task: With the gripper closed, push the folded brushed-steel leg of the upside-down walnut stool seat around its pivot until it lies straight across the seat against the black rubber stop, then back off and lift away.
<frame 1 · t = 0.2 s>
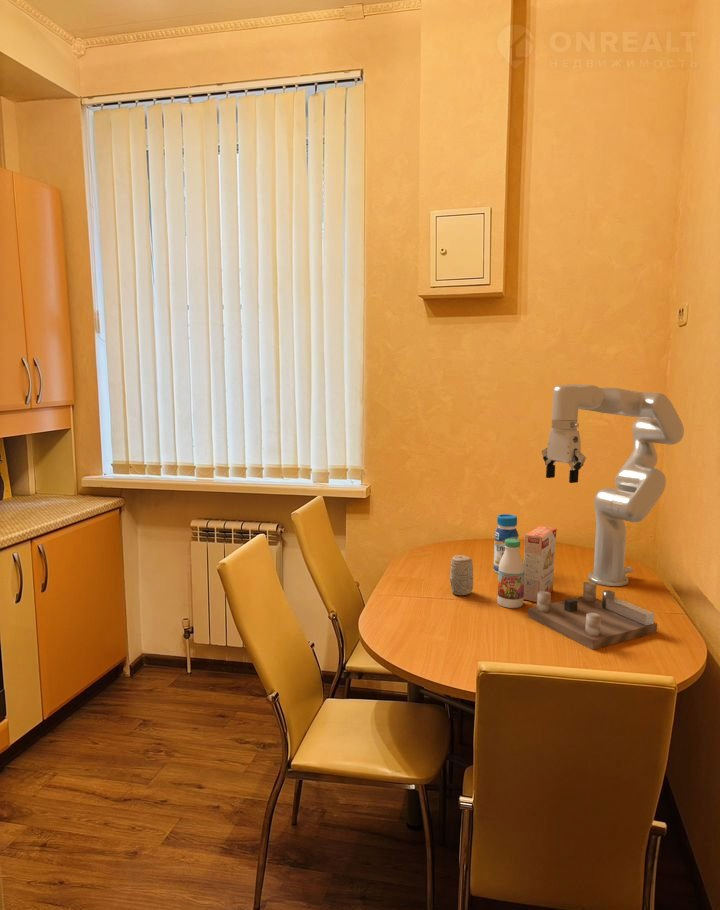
hand: (561, 480, 195), 36 cm above the table, tool pointing down, fingers open, 9 cm apart
stool seat: (590, 624, 175), on the table
cracker box: (538, 595, 198), on the table
beverage bottle: (505, 572, 221), on the table
hinged leg: (626, 606, 175), point 5 cm above the table, hinge at 0.0°
milk bottle: (510, 604, 190), on the table
carving: (461, 594, 199), on the table
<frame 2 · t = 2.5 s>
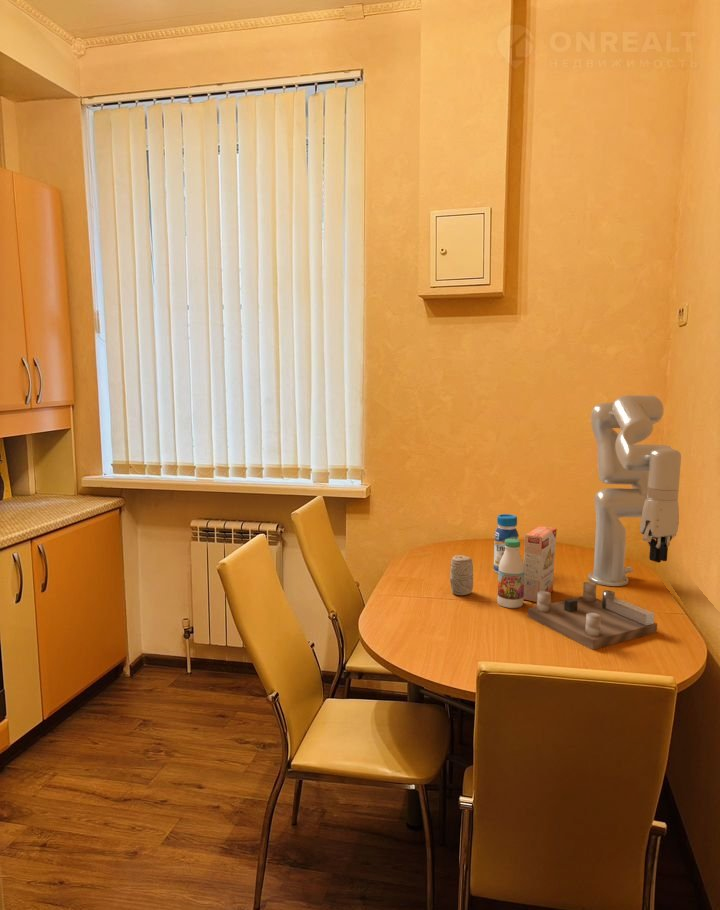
hand: (658, 560, 171), 19 cm above the table, tool pointing down, fingers closed
nothing on the table moved.
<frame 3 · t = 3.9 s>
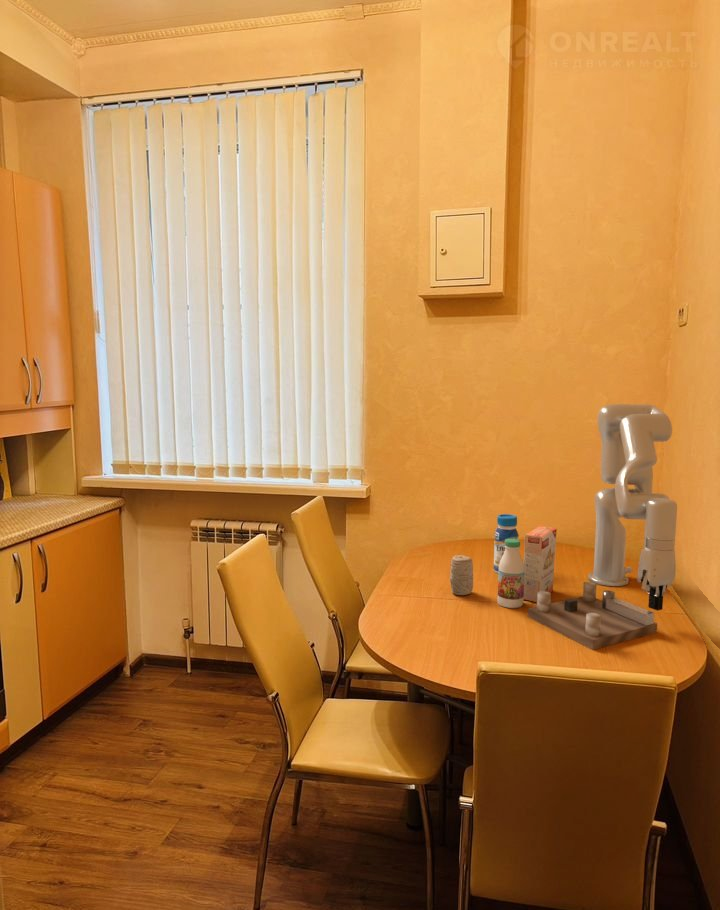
hand: (655, 608, 172), 5 cm above the table, tool pointing down, fingers closed
nothing on the table moved.
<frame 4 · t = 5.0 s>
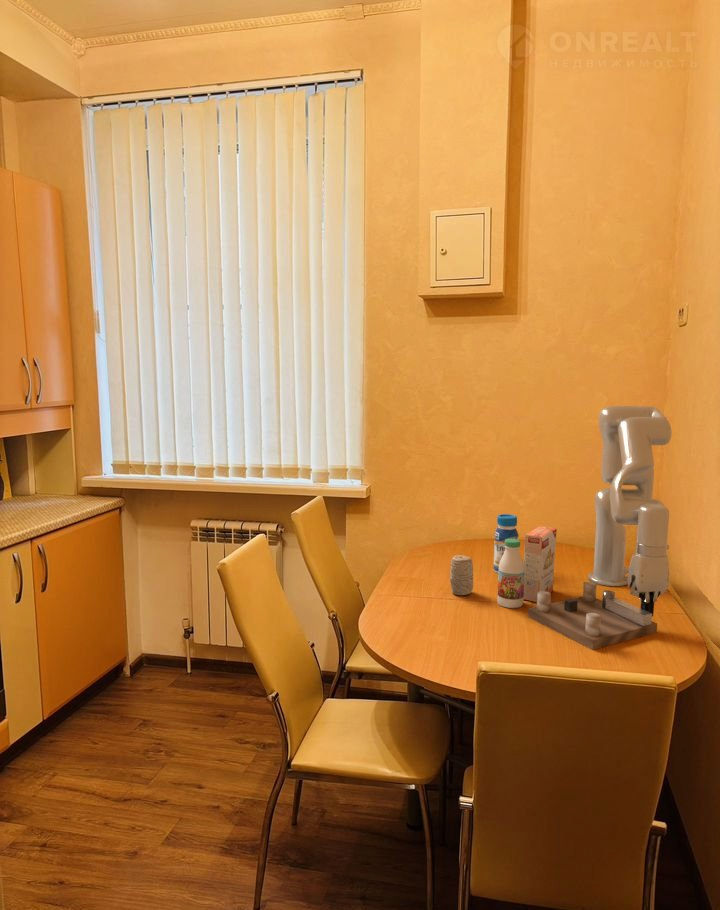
hand: (646, 614, 172), 4 cm above the table, tool pointing down, fingers closed
hinged leg: (625, 607, 174), point 5 cm above the table, hinge at -4.1°, touching gripper
everything else where it was.
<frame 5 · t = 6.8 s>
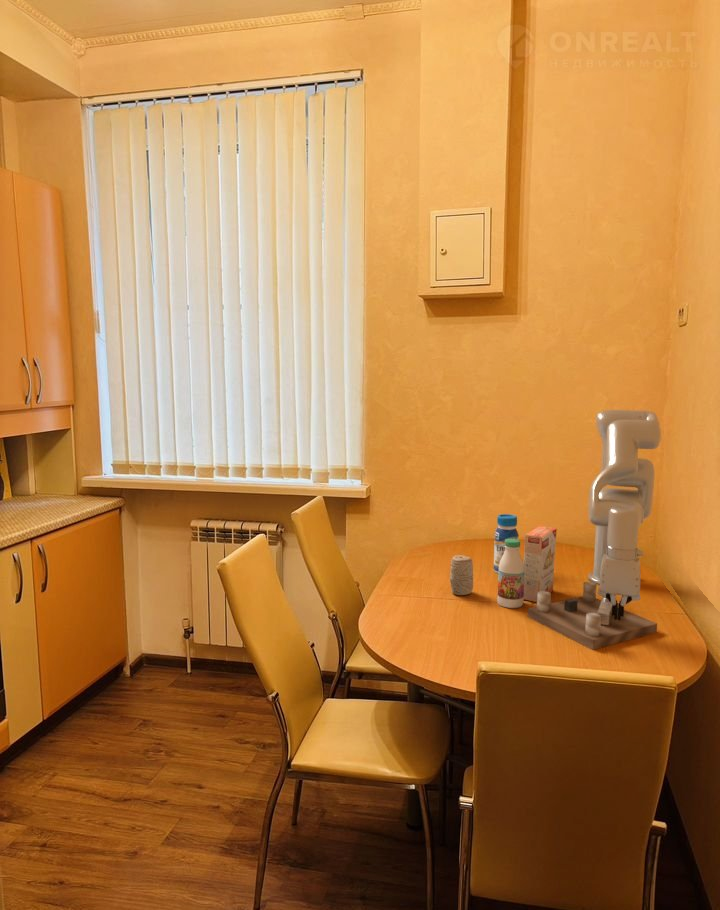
hand: (617, 618, 169), 4 cm above the table, tool pointing down, fingers closed
hinged leg: (606, 606, 175), point 5 cm above the table, hinge at -53.9°, touching gripper
everything else where it was.
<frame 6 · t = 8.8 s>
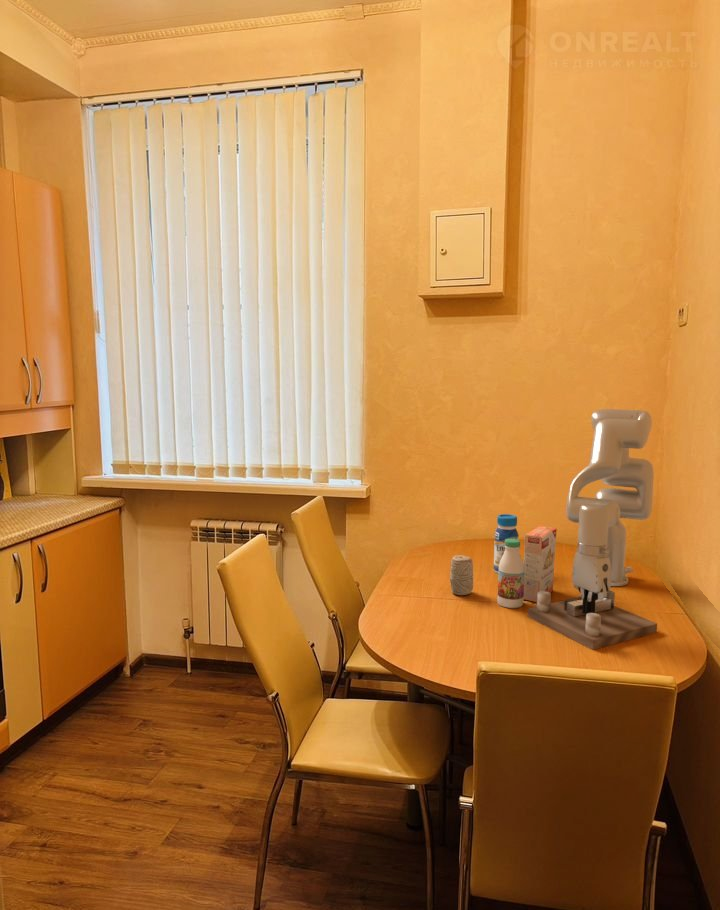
hand: (588, 613, 173), 4 cm above the table, tool pointing down, fingers closed
hinged leg: (592, 602, 178), point 5 cm above the table, hinge at -92.6°, touching gripper
everything else where it was.
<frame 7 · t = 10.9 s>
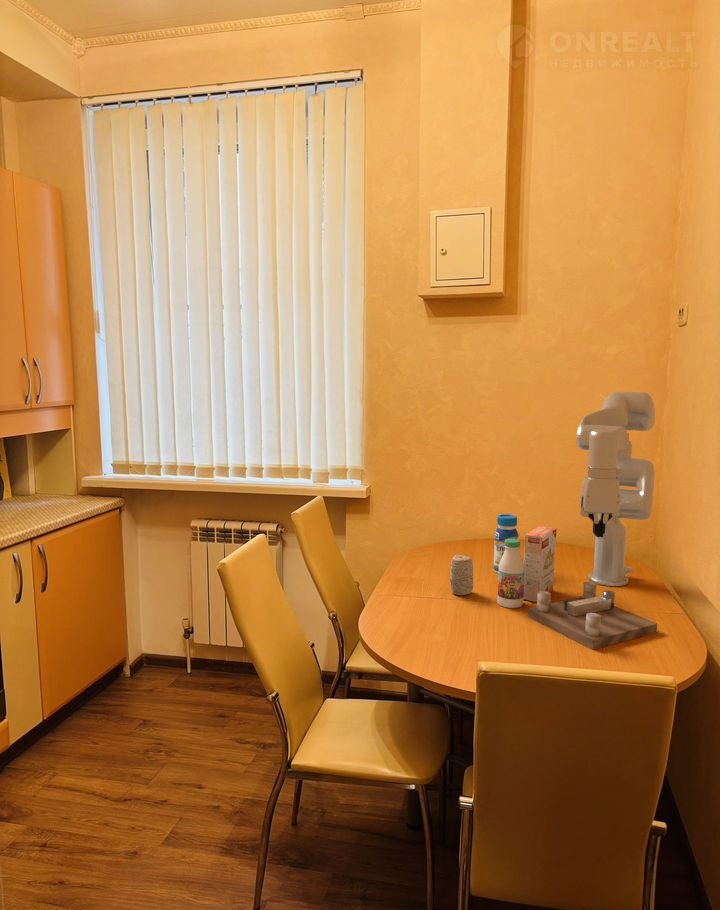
hand: (598, 535, 179), 24 cm above the table, tool pointing down, fingers closed
hinged leg: (592, 602, 178), point 5 cm above the table, hinge at -92.6°
everything else where it was.
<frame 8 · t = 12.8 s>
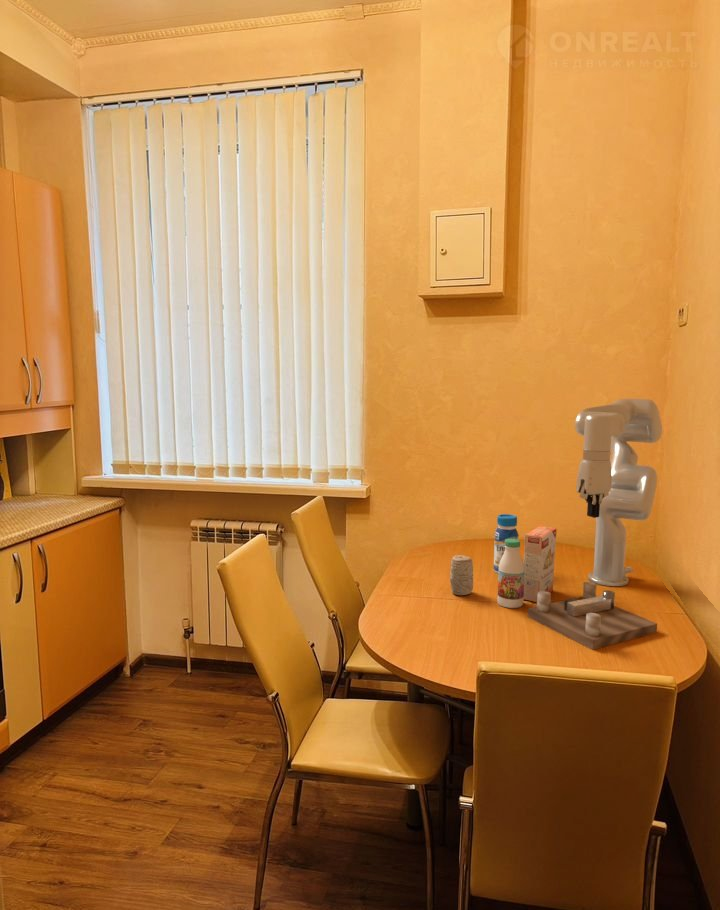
hand: (593, 516, 187), 27 cm above the table, tool pointing down, fingers closed
nothing on the table moved.
at the end: hinged leg at -93° (first picture: +0°); cracker box moved 0.2 cm from its start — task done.
